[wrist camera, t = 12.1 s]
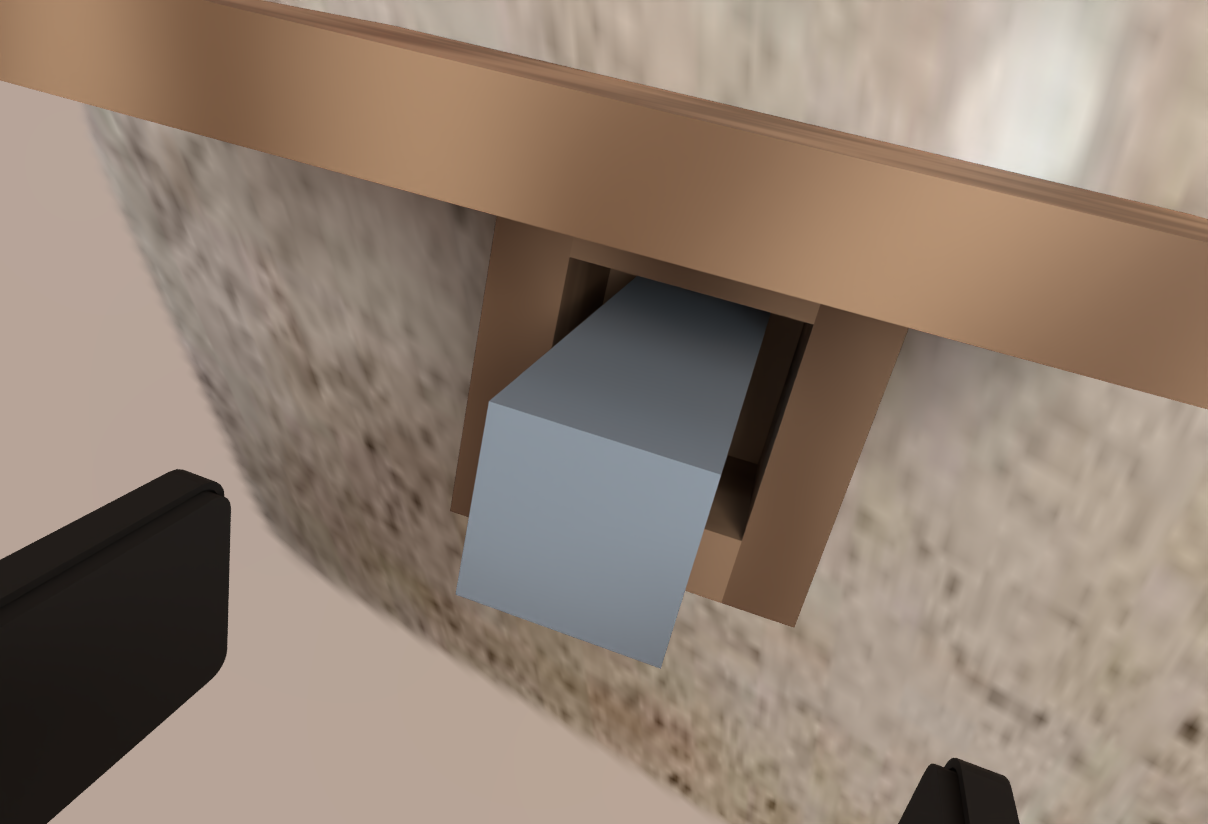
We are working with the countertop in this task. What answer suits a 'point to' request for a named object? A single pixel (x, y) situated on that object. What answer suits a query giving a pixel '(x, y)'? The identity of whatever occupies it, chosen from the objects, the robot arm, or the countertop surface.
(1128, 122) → the countertop surface
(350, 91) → the small wooden stand
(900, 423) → the countertop surface
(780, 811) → the countertop surface
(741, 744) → the countertop surface
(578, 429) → the plain blue gray block
